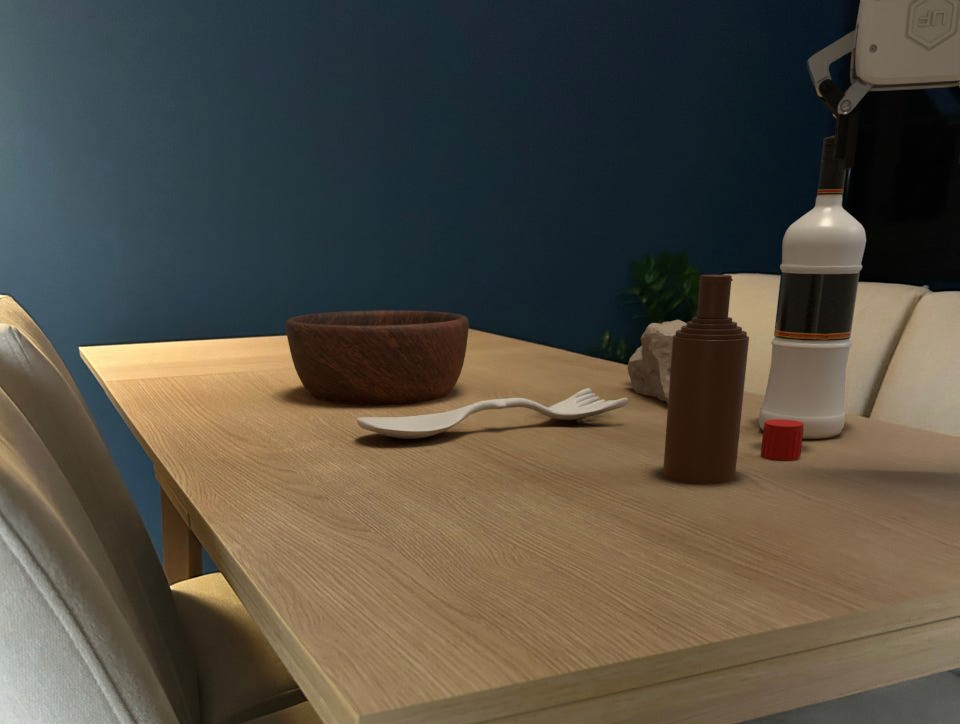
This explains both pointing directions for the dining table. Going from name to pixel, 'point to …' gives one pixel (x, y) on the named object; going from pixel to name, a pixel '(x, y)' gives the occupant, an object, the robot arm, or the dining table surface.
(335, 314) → the wooden bowl
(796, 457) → the cap
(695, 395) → the sauce bottle
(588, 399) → the white spork
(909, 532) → the dining table surface
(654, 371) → the decorative stone
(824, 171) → the vodka
